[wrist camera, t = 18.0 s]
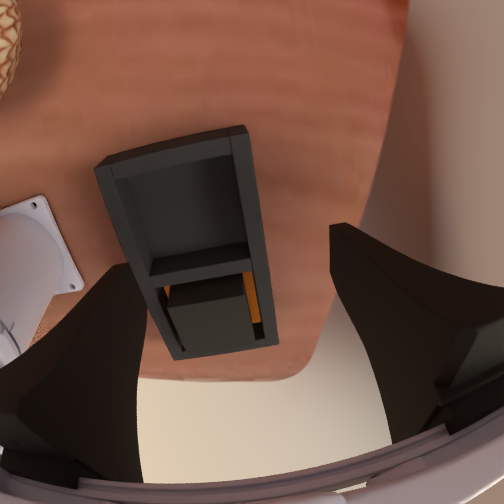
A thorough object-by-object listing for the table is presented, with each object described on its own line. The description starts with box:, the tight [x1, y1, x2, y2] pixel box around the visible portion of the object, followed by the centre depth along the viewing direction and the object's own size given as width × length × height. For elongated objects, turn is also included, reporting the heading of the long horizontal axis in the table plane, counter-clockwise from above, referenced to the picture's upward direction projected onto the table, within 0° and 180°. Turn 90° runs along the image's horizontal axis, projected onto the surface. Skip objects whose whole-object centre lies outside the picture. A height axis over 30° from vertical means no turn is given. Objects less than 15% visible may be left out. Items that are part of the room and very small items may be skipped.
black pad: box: [167, 273, 256, 356], centre depth 22 cm, size 5×5×3 cm
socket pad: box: [94, 125, 279, 361], centre depth 21 cm, size 8×16×2 cm, turn 8°
